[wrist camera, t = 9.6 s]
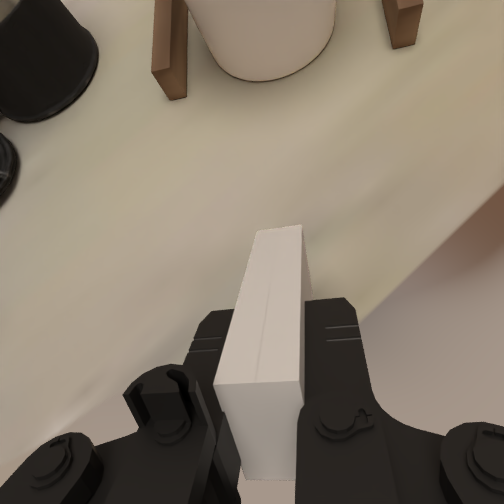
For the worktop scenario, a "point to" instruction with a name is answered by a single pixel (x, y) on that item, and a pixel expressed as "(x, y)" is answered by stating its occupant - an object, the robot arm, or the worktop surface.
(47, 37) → the milk frother
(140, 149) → the worktop surface
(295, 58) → the candle holder
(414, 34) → the walnut bay
